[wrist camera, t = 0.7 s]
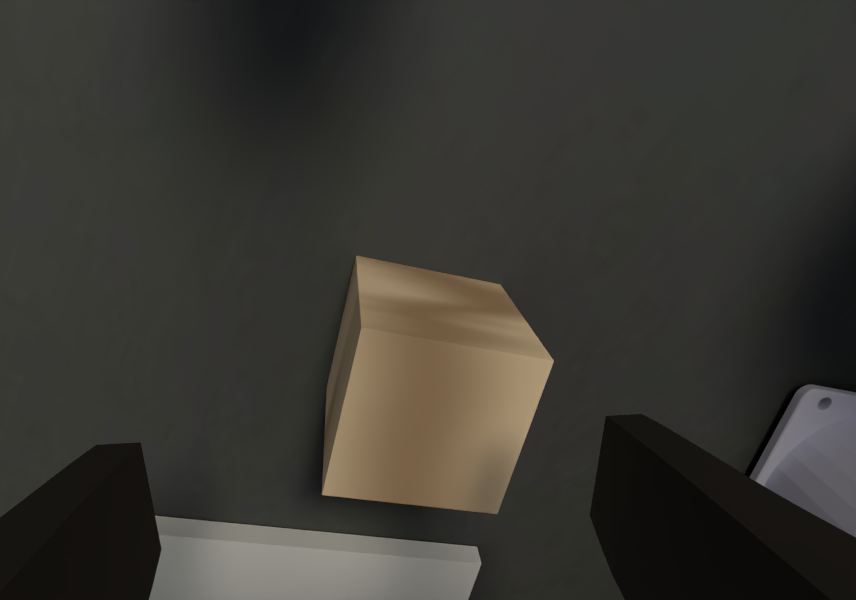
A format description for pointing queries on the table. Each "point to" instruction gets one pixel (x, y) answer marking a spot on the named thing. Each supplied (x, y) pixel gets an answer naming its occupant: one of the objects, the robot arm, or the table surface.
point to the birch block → (429, 389)
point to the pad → (304, 565)
